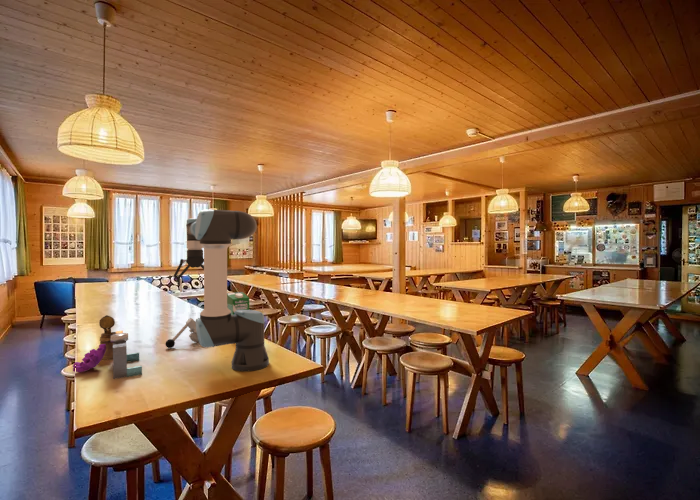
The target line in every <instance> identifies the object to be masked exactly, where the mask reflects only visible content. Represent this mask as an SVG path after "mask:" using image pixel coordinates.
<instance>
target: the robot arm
mask: <svg viewBox="0 0 700 500" xmlns="http://www.w3.org/2000/svg"><path fill="white" fill-rule="evenodd" d="M185 224H186V249H187V250H186V259H183V258H181V259H180V261H179V265H178V266H177V268H176V270H175V272H174V274H173V277H172V278H174V279H177V280H176V281H177V282H176V283H177V286H179V293H182V292H183V288H182V287H183V282H182V280H183V279H182V276H184V274H185V273H186V272H187V271H188V270H189V269H190V268H191V269H192V268H193V269H195V268H202V270H203V288H204V289H203V300H204V301H203V303H204V304H203V305H204V306H203V307H204V308H203V309H202V310H201V312H200V313H199V317H197V318H196V319H195V322H196V332H197V336H198V340H199V343H198V344H199V345H200V346H201V347H203V348H215V347H218V346H219V347H221V346H227V345H232V344H233V345H234V344H235V350H234V353H233V357H232V360H231V369H232V370H233V371H237V372H254V371H259V370H262V369H265V368H266V367H267V368H268V366H269V365H270V361H269V360H270V359H269V356H268V353H267V352H268V351H267V350H266V347H265V323H266V322H265V315H264V313H263V312H261V311H260V310H255V309H249V310H236V311H235V315H231V311H230V310H229V309H228V308H227V293H228V248H229V247H230V246H231V245H232V241H233V240H236V241H237V240H244V239H248V238H250V237H252V236H254V234H255V233H256V231H257V227H258V226H257V221H256V219H255V217H253V215H251V214H250V213H247V212H245V211H241V210H228V209H227V210H226V209H225V210H224V209H213V208H212V209H202V210H200V211H199V213H198V214H197V217H196V218H187V219H186V223H185ZM185 263H186V264H187V265H186V266H185V268H184V269H183V270H182V271H181V272H180V270H181V269H182V266H183V264H185ZM179 272H180V273H179Z"/></svg>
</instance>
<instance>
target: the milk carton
mask: <svg viewBox="0 0 700 500" xmlns="http://www.w3.org/2000/svg"><path fill="white" fill-rule="evenodd" d="M227 308H228V309H229V310H230V311H231V315H235V311H236V310H250V297H249V296H248V295H247V294H246V293H245V292H243V291H238V292H237V291H236V292H227Z"/></svg>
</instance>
